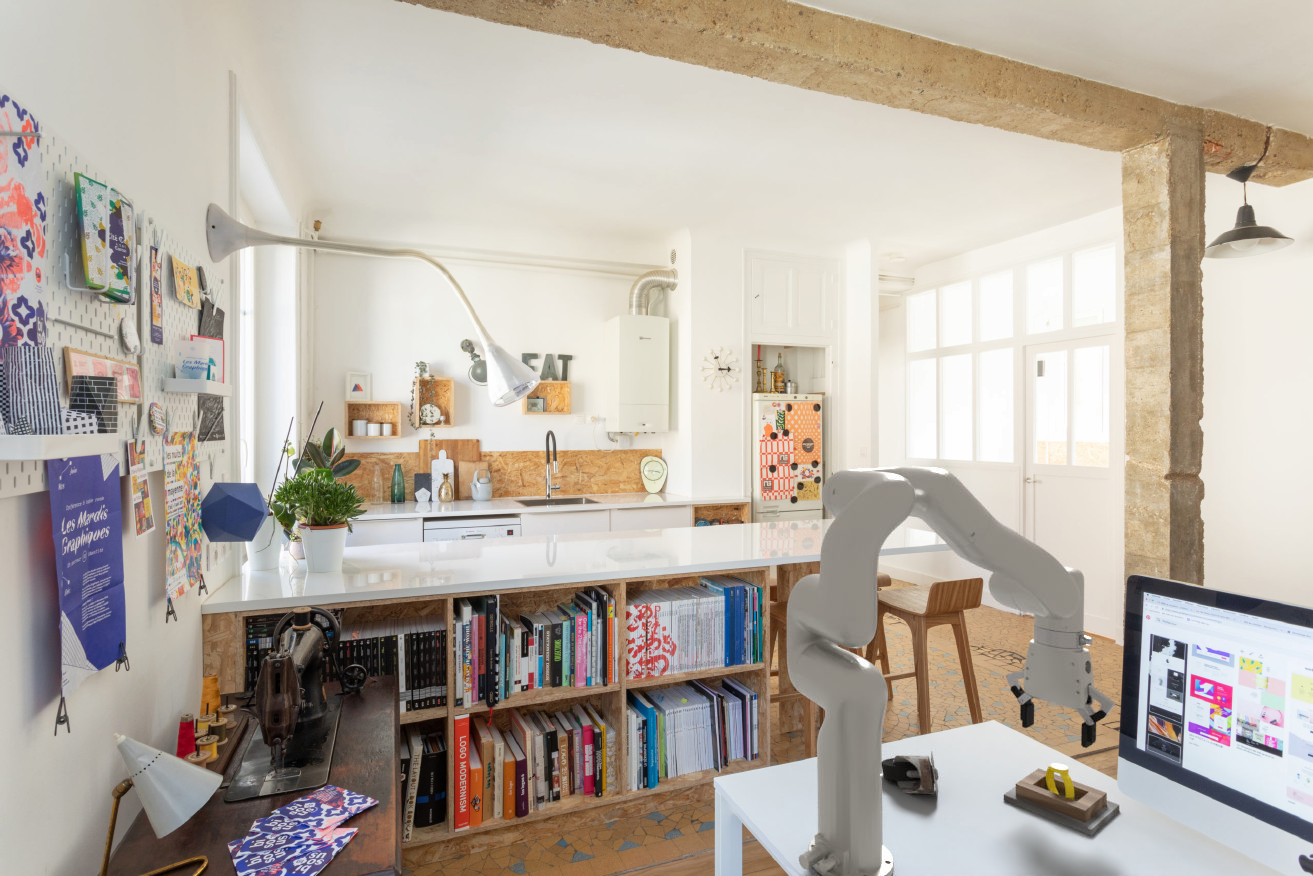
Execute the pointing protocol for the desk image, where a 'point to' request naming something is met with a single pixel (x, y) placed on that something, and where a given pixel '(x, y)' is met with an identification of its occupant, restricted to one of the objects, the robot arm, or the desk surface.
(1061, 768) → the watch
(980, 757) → the desk surface
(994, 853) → the desk surface
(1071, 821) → the frame
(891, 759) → the caster wheel
